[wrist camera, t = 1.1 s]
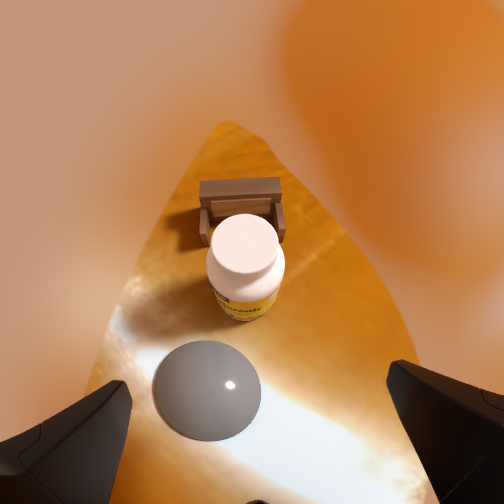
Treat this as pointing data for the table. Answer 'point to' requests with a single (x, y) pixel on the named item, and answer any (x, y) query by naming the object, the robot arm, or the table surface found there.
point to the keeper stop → (240, 202)
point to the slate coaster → (208, 390)
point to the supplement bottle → (245, 266)
